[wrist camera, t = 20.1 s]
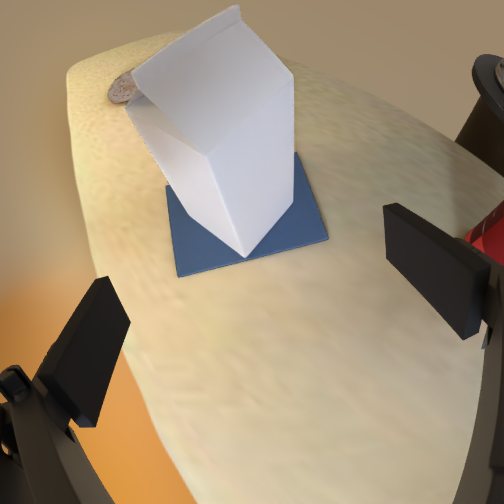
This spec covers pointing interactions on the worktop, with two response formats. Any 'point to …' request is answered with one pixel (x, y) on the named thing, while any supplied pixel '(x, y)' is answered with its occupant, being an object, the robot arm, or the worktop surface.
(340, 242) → the worktop surface
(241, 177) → the milk carton
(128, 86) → the flatbread
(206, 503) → the worktop surface
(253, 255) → the slate-blue mat
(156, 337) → the worktop surface
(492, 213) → the canned food
